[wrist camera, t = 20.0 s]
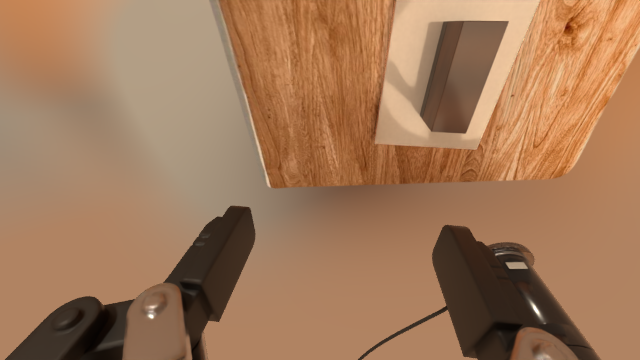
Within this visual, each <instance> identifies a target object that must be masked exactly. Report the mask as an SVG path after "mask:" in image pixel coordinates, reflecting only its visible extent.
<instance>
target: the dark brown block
mask: <svg viewBox="0 0 640 360" xmlns="http://www.w3.org/2000/svg"><path fill="white" fill-rule="evenodd" d="M508 23H509V21H444V22H443V25H442V29H441V33H440V37H439V41H438V45H437V49H436V53H435V57H434V61H433V65H432V69H431V73H430V77H429V81H428V84H427V88H426V92H425V96H424V100H423V104H422V108H421V112H420V117H421V118H422V120H423V121H424V122H425V124H426V125H427V127H428V128H429V129H430V131H431V132H444V133H463V134H466V132H467V130H468V127H469V125H470V122H471V119H472V117H473V114H474V112H475V109H476V106H477V104H478V101H479V99H480V96H481V93H482V91H483V88H484V86H485V83H486V80H487V78H488V75H489V73H490V70H491V67H492V65H493V62H494V59H495V57H496V54H497V52H498V49H499V46H500V44H501V41H502V39H503V36H504V33H505V31H506V28H507V26H508Z"/></svg>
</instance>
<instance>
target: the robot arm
mask: <svg viewBox="0 0 640 360" xmlns="http://www.w3.org/2000/svg"><path fill="white" fill-rule="evenodd" d="M254 241H255V229H254V224H253V219H252V214H251V210H250V208H249V207H242V206H230V207H229V208H228V209H227V211H226V212H225V214H224V215H223V217H216V218H215V219H213V220H212V221H211V222H209V223H208V224H207V225H206V226H205V227H204V229H203V230H202V231H201V233H200V234H199V237H197V238H196V240H195V241H194V242H193V245H192V246H191V247H190V248H189V249H188V251H187V252H186V253H185V255H184V256H183V257H182V259H181V260H180V262H179V263H178V264H177V266H176V267H175V268H174V270H173V271H172V273H171V274H170V275H169V277H168V278H167V279H166V280H165V282H164V283H162V284H158V285H155V286H152V287H150V288H149V289H147V290H145V291H144V292H143V293H141V294H140V295H139V296H138V297H137V298H136V299H133V300H129V301H124V302H118V303H113V304H108V305H103V304H102V303H101V302H100V301H99V300H98V299H96V298H95V297H90V296H89V297H82V298H77V299H75V300H72V301H70V302H68V303H66V304H64V305H62V306H61V307H59V308H58V309H56V310H55V311H54V312H52V313H51V314H50V315H49V316H48V317H47V318H46V319H45V320H44V321H43V322H42V323H41V324H40V325H39V326H38V327H37V328H36V329H35V330H34V331H33V332H32V333H31V334H30V335H29V336H28V337H27V338H26V339H25V340H24V341H23V342H22V343H21V344H20V345H19V346H18V347H17V348H16V349H15V350H14V351H13V352H12V353H11V354H10V355H9V356H8V357H7V358H6V359H5V360H208V356H207V349H206V343H205V337H204V332H203V330H204V328H205V326H206V324H207V322H208V321H216V322H219V321H220V319H221V316H222V314H223V312H224V310H225V308H226V305H227V303H228V301H229V298H230V296H231V294H232V292H233V290H234V287H235V285H236V283H237V281H238V279H239V276H240V274H241V272H242V270H243V267H244V265H245V263H246V261H247V259H248V256H249V254H250V252H251V250H252V248H253V245H254ZM432 260H433V266H434V269H435V272H436V275H437V278H438V281H439V284H440V287H441V290H442V293H443V296H444V299H445V302H446V305H447V306H446V307H444V308H442V309H441V310H439V311H437V312H435V313H433V314H431V315H429V316H427V317H425V318H423V319H421V320H419V321H417V322H415V323H413V324H412V325H410V326H408V327H406V328H404V329H402V330H400V331H398V332H396V333H395V334H393V335H391V336H389V337H388V338H386V339H384V340H383V341H381V342H379V343H378V344H377V345H375V346H374V347H372V348H371V349H370V350H368V351H367V352H366V353H365V354H363V355H362V356H361V357H360V358H359V359H358V360H362V359H363V358H364V357H365V356H367V355H368V354H369V353H370V352H372V351H373V350H374V349H376V348H377V347H379V346H380V345H382V344H383V343H385V342H387V341H389V340H391V339H392V338H394V337H396V336H398V335H400V334H401V333H404V332H405V331H407V330H409V329H411V328H413V327H415V326H417V325H419V324H421V323H423V322H425V321H427V320H429V319H431V318H433V317H435V316H437V315H439V314H441V313H443V312H445V311H446V310H448V311H449V314H450V317H451V320H452V323H453V326H454V329H455V332H456V335H457V338H458V340H459V344H460V347H461V350H462V353H463V356H464V357H471V358H477V359H478V360H601V359H600V358H599V356H598V355H597V353H596V352H595V351H594V349H593V348H592V347H591V346H590V344H589V343H588V341H587V340H586V338H585V337H584V336H583V334H582V333H581V332H580V331H579V329H578V328H577V327H576V325H575V324H574V322H573V321H572V320H571V318H570V317H569V316H568V314H567V313H566V312H565V310H564V309H563V308H562V306H561V305H560V304H559V302H558V301H557V299H556V298H555V297H554V295H553V294H552V293H551V291H550V290H549V289H548V287H547V286H546V285H545V283H544V282H543V281H542V279H541V278H540V276H539V275H538V274H537V272H536V271H535V270H534V268H533V267H532V266H531V264H530V263H529V261H528V259H527V258H526V257H525V256H524V255H523V254H521V253H518V252H514V251H503V252H497V253H493V252H492V251H491V250H490V249H489V248H488V247H487V246H486V245H484V244H483V243H482V242H479V241H476V240H475V238H474V237H473V235H472V233H471V231H470V230H469V229H468V228H467V227H462V226H452V225H445V226H444V227H443V228H442V230H441V233H440V235H439V238H438V240H437V242H436V245H435V247H434V249H433V254H432Z"/></svg>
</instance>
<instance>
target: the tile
mask: <svg viewBox="0 0 640 360" xmlns="http://www.w3.org/2000/svg"><path fill="white" fill-rule="evenodd" d="M539 3H540V0H395V2H394V8H393V15H392V22H391V28H390V35H389V42H388V48H387V55H386V62H385V68H384V75H383V82H382V88H381V95H380V102H379V108H378V115H377V121H376V128H375V135H374V144H386V145H403V146H420V147H437V148H454V149H471V150H477V148H478V146H479V143H480V141H481V139H482V136H483V134H484V131H485V129H486V127H487V124H488V122H489V120H490V117H491V115H492V113H493V110H494V108H495V106H496V103H497V101H498V99H499V96H500V94H501V92H502V89H503V87H504V85H505V82H506V80H507V78H508V75H509V73H510V71H511V68H512V66H513V64H514V61H515V59H516V56H517V54H518V52H519V49H520V47H521V45H522V42H523V40H524V38H525V35H526V33H527V31H528V28H529V26H530V24H531V21H532V19H533V17H534V14H535V12H536V10H537V7H538V5H539ZM444 21H509V23H508V26H507V28H506V31H505V33H504V36H503V39H502V41H501V44H500V46H499V49H498V52H497V54H496V57H495V59H494V62H493V65H492V67H491V70H490V73H489V75H488V78H487V80H486V83H485V86H484V88H483V91H482V93H481V96H480V99H479V101H478V104H477V106H476V109H475V112H474V114H473V117H472V119H471V122H470V125H469V127H468V130H467V132H466V134H463V133H444V132H431V131H430V129H429V128H428V127H427V125H426V124H425V122H424V121H423V120H422V118H421V117H420V112H421V108H422V104H423V100H424V96H425V92H426V88H427V84H428V81H429V77H430V73H431V69H432V65H433V61H434V57H435V53H436V49H437V45H438V41H439V37H440V33H441V29H442V25H443V22H444Z"/></svg>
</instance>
